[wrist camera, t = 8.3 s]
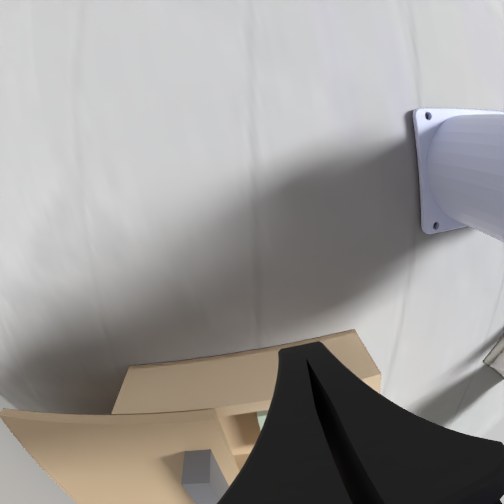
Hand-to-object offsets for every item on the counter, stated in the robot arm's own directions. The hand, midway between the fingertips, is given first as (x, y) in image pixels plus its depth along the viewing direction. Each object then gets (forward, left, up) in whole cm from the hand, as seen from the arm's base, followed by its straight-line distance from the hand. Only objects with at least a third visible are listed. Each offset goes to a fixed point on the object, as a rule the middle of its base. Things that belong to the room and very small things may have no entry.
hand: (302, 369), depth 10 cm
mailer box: (+3, +12, -10) cm, 16 cm away
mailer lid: (+13, +12, -5) cm, 18 cm away
